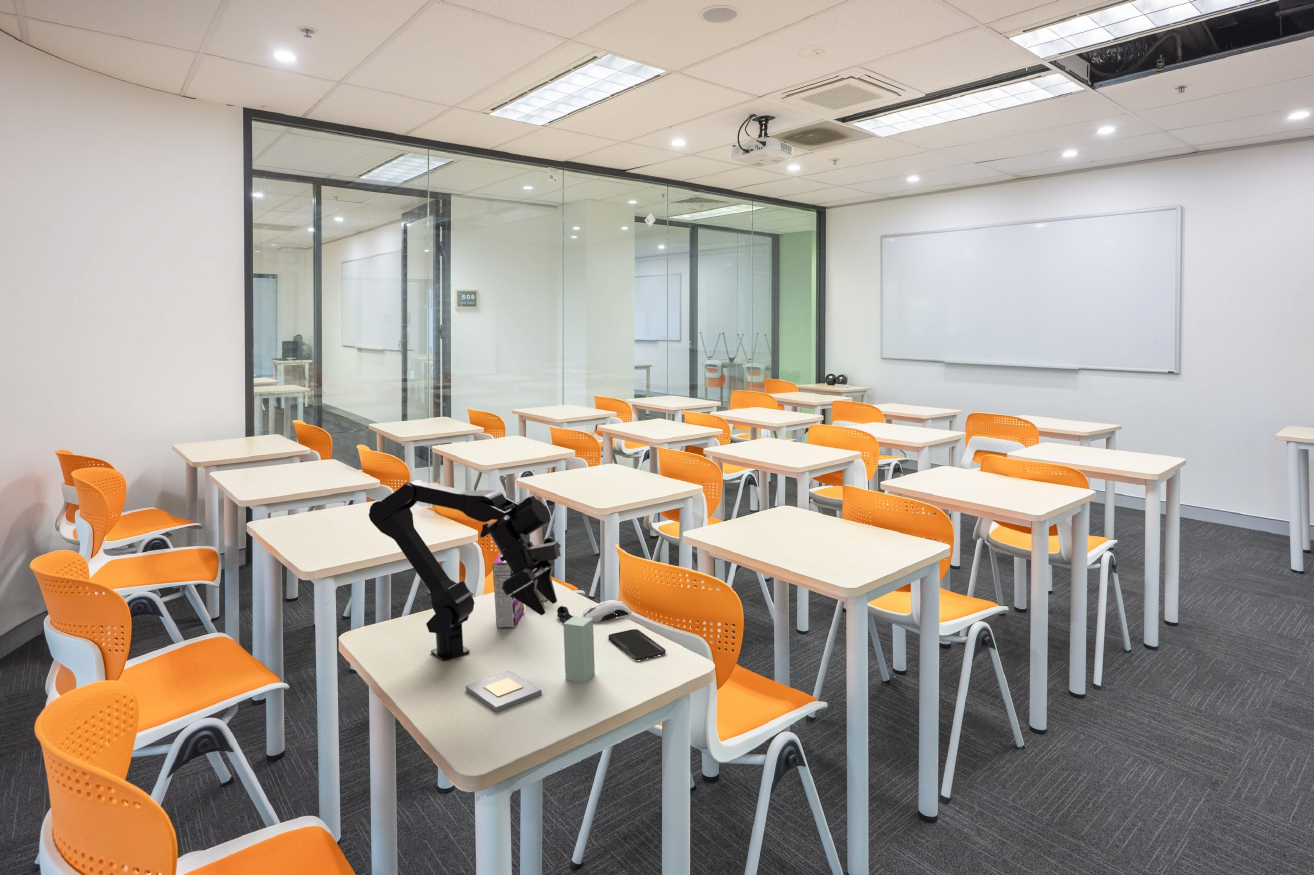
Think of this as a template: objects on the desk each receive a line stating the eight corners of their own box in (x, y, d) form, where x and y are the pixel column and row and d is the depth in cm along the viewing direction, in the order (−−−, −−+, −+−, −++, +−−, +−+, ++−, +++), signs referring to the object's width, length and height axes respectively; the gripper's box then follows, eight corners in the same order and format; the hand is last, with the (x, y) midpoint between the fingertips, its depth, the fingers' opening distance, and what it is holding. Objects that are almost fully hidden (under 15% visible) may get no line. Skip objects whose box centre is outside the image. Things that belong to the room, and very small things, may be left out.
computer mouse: (637, 618, 183) (637, 603, 182) (568, 632, 175) (568, 616, 174) (622, 606, 191) (621, 591, 191) (555, 618, 184) (555, 603, 183)
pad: (465, 690, 145) (465, 684, 145) (510, 674, 152) (509, 669, 152) (496, 712, 136) (496, 706, 136) (541, 694, 143) (541, 688, 143)
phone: (636, 628, 173) (667, 650, 160) (636, 633, 173) (667, 655, 160) (606, 635, 170) (635, 658, 156) (606, 639, 170) (635, 663, 157)
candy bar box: (505, 611, 188) (502, 549, 186) (524, 611, 188) (521, 549, 186) (494, 628, 177) (491, 563, 175) (515, 628, 177) (512, 562, 175)
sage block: (565, 679, 149) (563, 623, 148) (576, 670, 153) (574, 615, 152) (584, 683, 147) (582, 626, 146) (594, 674, 151) (592, 618, 150)
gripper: (530, 533, 145) (570, 601, 144) (555, 519, 163) (590, 579, 163) (484, 561, 146) (524, 628, 146) (514, 544, 165) (549, 604, 164)
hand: (549, 608), depth 155 cm, fingers open, 9 cm apart
